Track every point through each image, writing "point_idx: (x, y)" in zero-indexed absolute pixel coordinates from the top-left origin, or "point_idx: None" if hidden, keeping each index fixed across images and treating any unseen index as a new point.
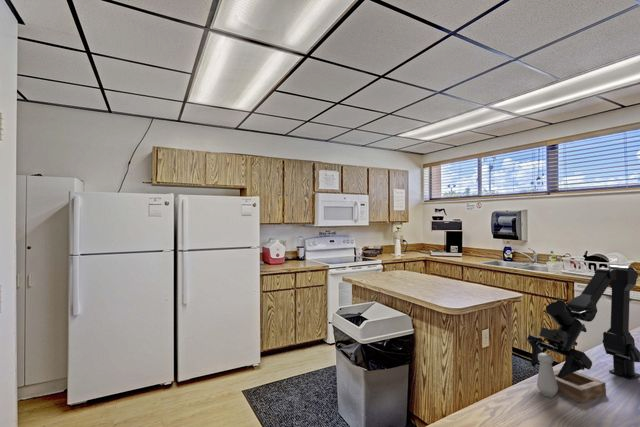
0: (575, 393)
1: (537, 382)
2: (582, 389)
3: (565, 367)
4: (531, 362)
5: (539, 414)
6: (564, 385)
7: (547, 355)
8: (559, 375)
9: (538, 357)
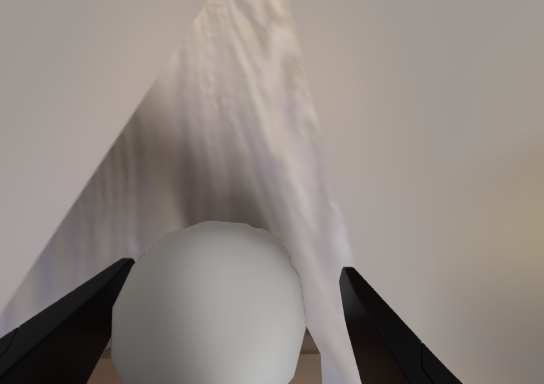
0: None
1: (276, 238)
2: (92, 379)
3: (7, 334)
4: (361, 277)
5: (176, 112)
6: None
7: (155, 312)
8: (114, 264)
9: (261, 233)
